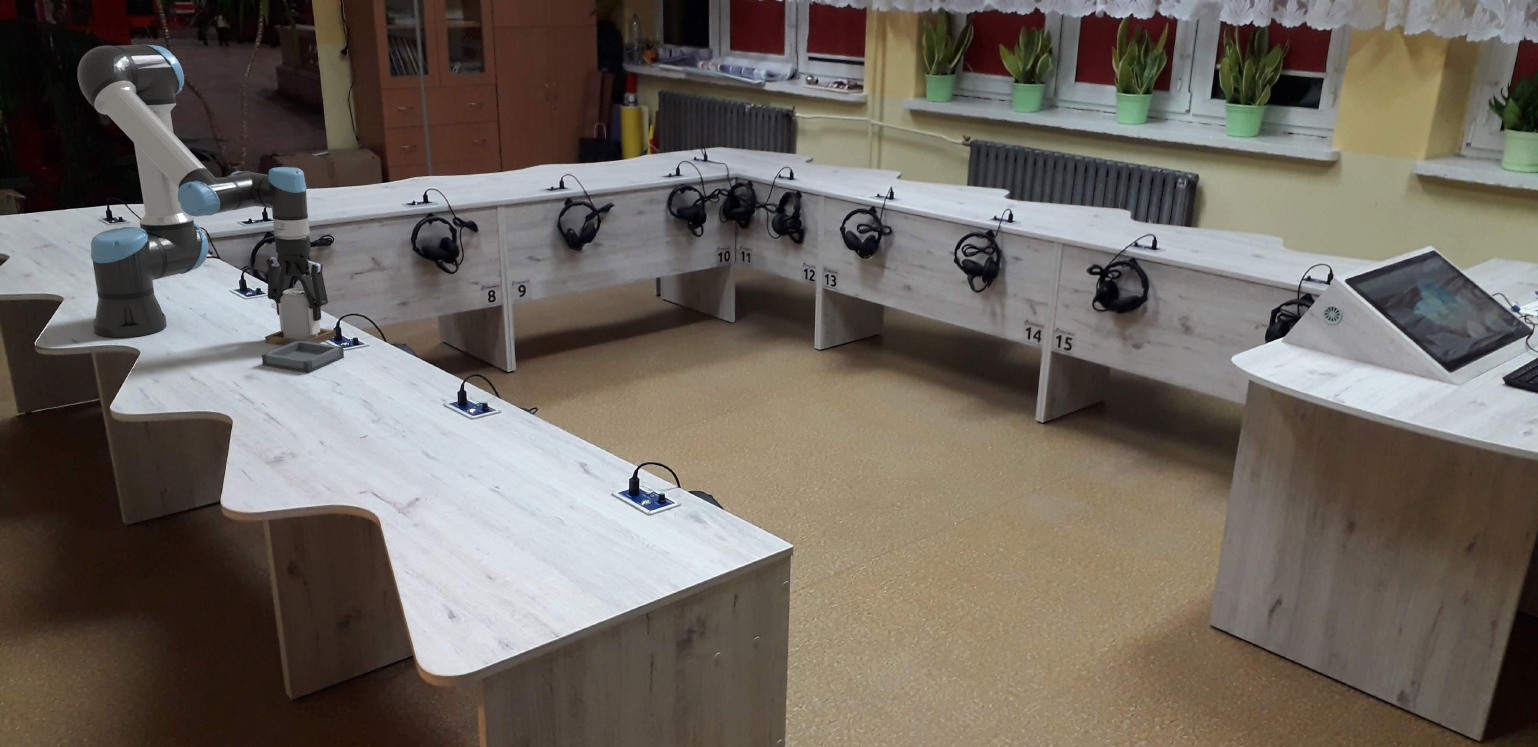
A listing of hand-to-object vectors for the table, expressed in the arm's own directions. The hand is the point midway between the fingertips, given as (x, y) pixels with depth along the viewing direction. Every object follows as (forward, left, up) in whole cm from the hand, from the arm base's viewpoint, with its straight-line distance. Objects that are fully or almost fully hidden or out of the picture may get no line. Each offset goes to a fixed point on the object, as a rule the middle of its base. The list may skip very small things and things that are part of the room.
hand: (300, 330), depth 264 cm
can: (0, 0, -2) cm, 2 cm away
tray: (+11, -13, -2) cm, 17 cm away
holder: (0, 0, -2) cm, 2 cm away
